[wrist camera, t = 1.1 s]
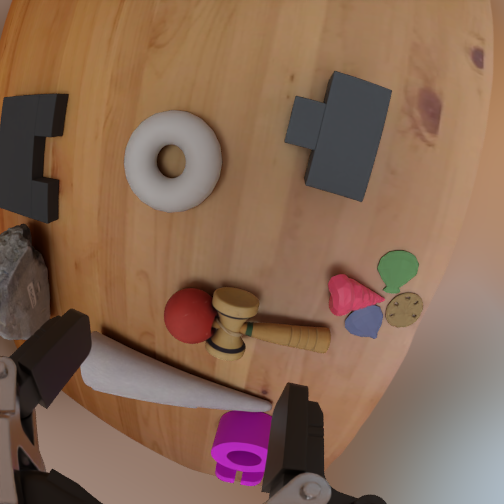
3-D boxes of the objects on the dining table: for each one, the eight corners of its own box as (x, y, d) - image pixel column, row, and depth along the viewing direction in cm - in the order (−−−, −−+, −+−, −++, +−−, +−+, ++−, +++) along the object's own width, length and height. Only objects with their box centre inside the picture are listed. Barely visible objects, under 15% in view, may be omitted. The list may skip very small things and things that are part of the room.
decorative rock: (28, 213, 34) (-52, 252, 20) (58, 226, 34) (-26, 274, 20) (33, 304, 40) (-23, 354, 26) (61, 321, 40) (4, 378, 26)
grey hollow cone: (285, 392, 32) (75, 353, 31) (271, 432, 35) (88, 397, 34) (281, 351, 39) (99, 320, 38) (269, 392, 43) (106, 363, 42)
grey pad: (302, 72, 24) (303, 62, 20) (379, 95, 24) (392, 90, 20) (278, 171, 28) (275, 177, 24) (353, 193, 27) (362, 202, 24)
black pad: (14, 97, 27) (3, 97, 25) (68, 94, 27) (57, 93, 25) (8, 203, 34) (-2, 207, 32) (58, 218, 33) (47, 224, 31)
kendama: (334, 293, 33) (172, 264, 32) (344, 335, 28) (156, 305, 26) (312, 337, 37) (170, 314, 36) (317, 378, 32) (158, 354, 31)
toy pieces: (322, 339, 34) (324, 364, 30) (326, 251, 30) (330, 269, 26) (415, 334, 32) (426, 357, 28) (433, 249, 28) (449, 266, 24)
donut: (150, 101, 27) (124, 190, 30) (134, 97, 24) (107, 196, 27) (240, 128, 27) (206, 222, 31) (233, 127, 24) (196, 232, 27)
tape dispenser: (221, 403, 41) (212, 436, 35) (287, 415, 40) (284, 449, 34) (216, 451, 47) (209, 478, 41) (268, 460, 46) (264, 488, 40)
